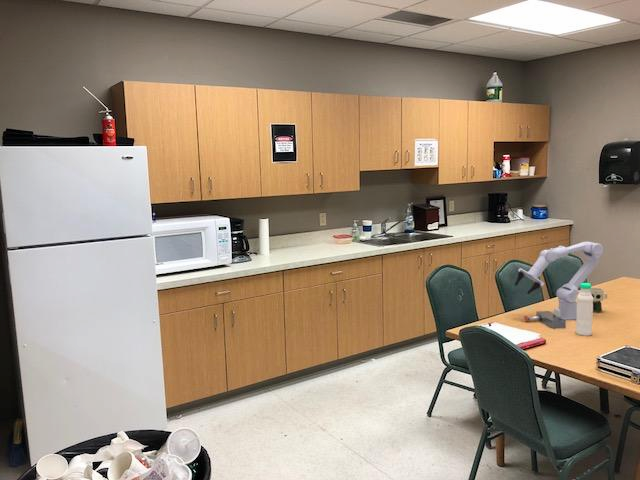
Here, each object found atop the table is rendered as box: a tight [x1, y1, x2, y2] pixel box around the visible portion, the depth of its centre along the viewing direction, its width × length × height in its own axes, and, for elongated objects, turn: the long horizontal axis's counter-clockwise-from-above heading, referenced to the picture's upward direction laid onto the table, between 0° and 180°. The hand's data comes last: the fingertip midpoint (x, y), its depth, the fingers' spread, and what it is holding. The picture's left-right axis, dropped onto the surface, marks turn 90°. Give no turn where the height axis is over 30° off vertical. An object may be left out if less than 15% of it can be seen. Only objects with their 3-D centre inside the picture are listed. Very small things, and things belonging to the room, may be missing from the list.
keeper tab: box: [553, 307, 560, 317], centre depth 265 cm, size 1×5×4 cm, turn 1°
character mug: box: [590, 287, 608, 313], centre depth 289 cm, size 11×7×13 cm, turn 53°
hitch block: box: [535, 310, 567, 329], centre depth 270 cm, size 7×18×5 cm, turn 1°
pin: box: [523, 315, 542, 322], centre depth 274 cm, size 11×3×3 cm, turn 91°
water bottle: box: [575, 282, 594, 337], centre depth 250 cm, size 7×7×25 cm
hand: (521, 289), depth 274 cm, fingers open, 7 cm apart
